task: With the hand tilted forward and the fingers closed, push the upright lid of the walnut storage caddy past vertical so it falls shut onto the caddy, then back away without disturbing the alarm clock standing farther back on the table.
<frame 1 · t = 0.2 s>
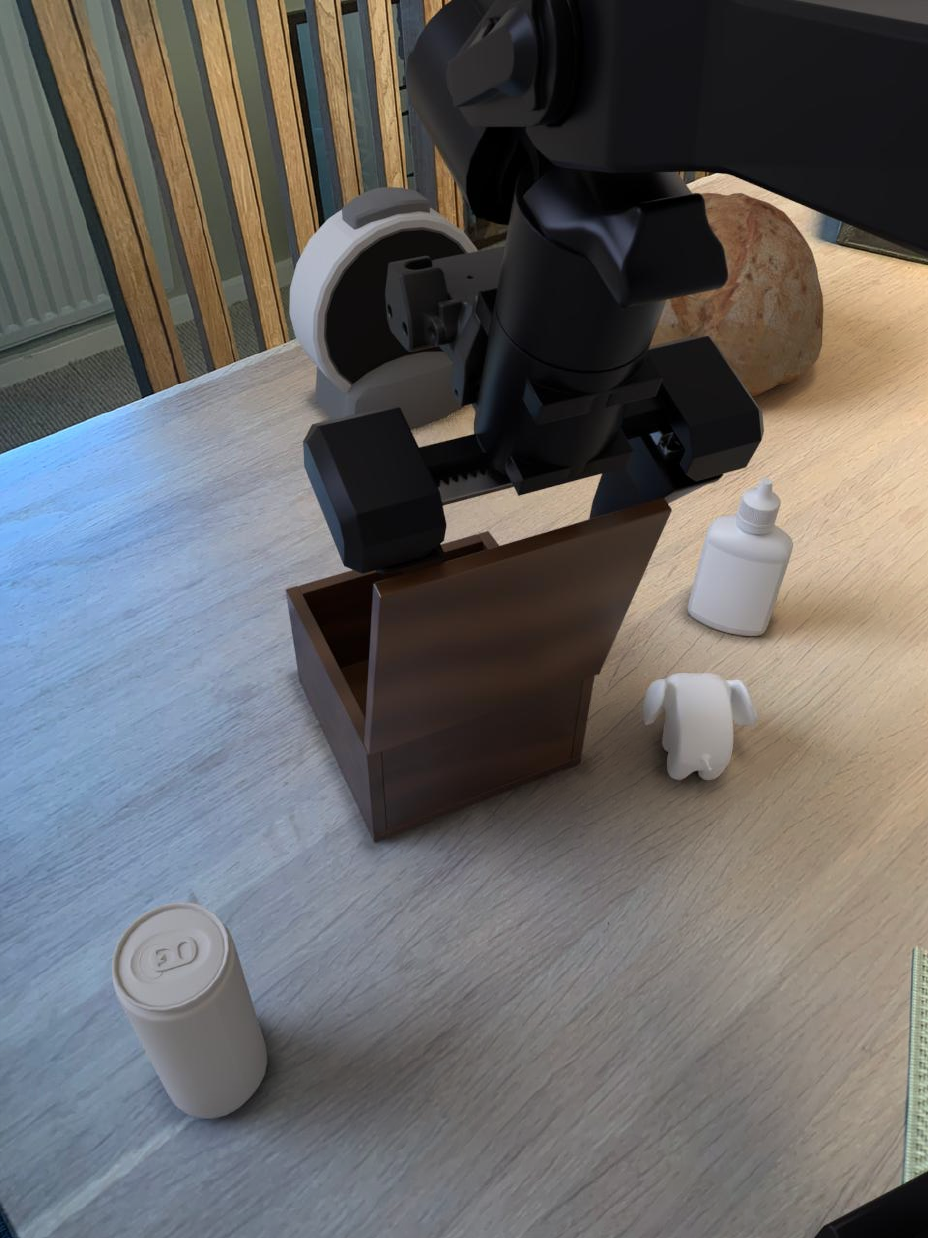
hand: (509, 555, 48), 17 cm above the table, tool tilted 15°, fingers open, 9 cm apart
eye dropper bottle: (726, 619, 71), on the table
caddy: (434, 720, 63), on the table
lid: (505, 636, 47), point 16 cm above the table, hinge at 102.6°, touching gripper
alarm clock: (393, 400, 90), on the table
elephant figurine: (687, 755, 62), on the table
beverage can: (218, 1072, 48), on the table
bread: (673, 355, 96), on the table
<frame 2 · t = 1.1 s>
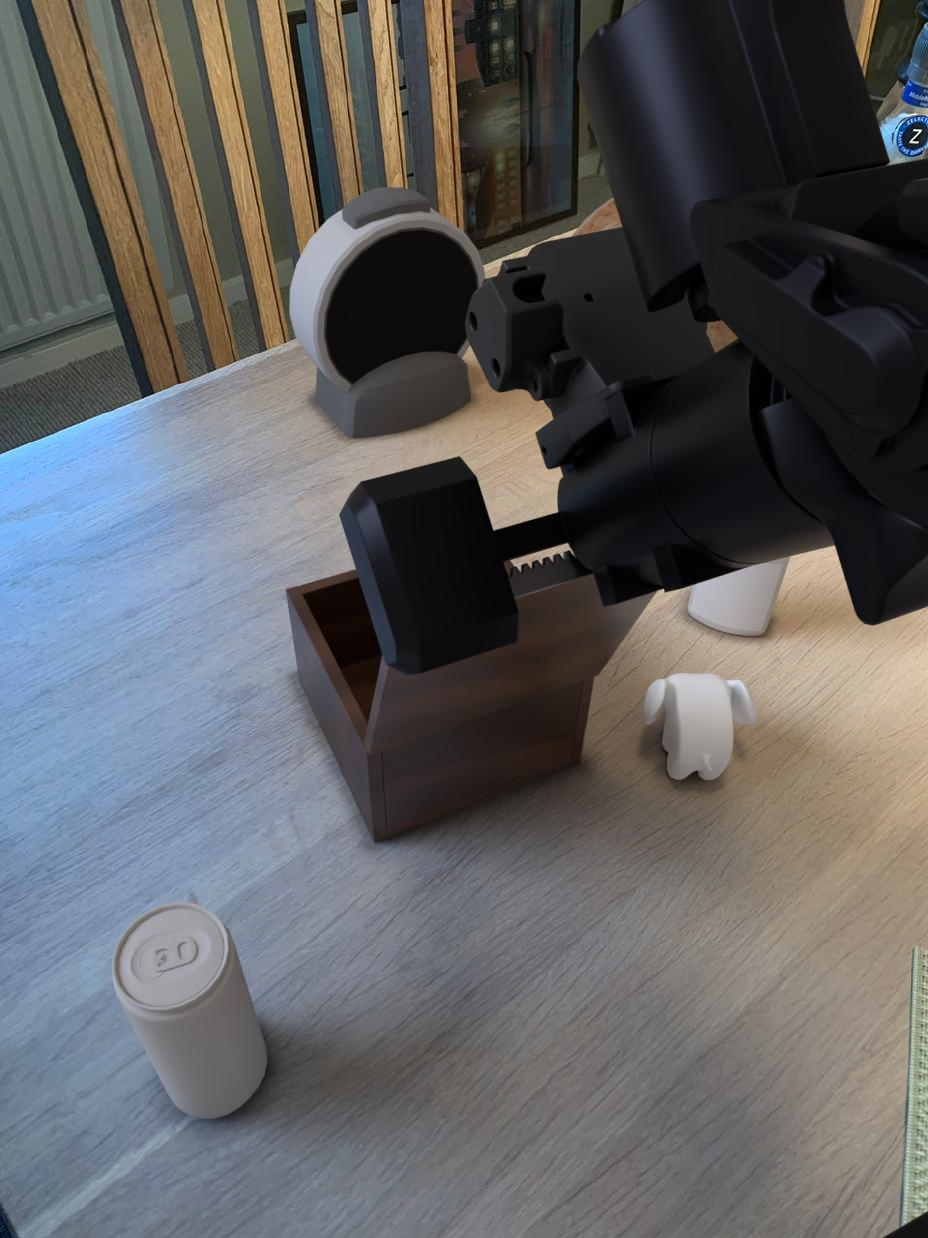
hand: (537, 548, 42), 22 cm above the table, tool tilted 40°
lid: (513, 651, 46), point 15 cm above the table, hinge at 109.7°, touching gripper
everything else where it was.
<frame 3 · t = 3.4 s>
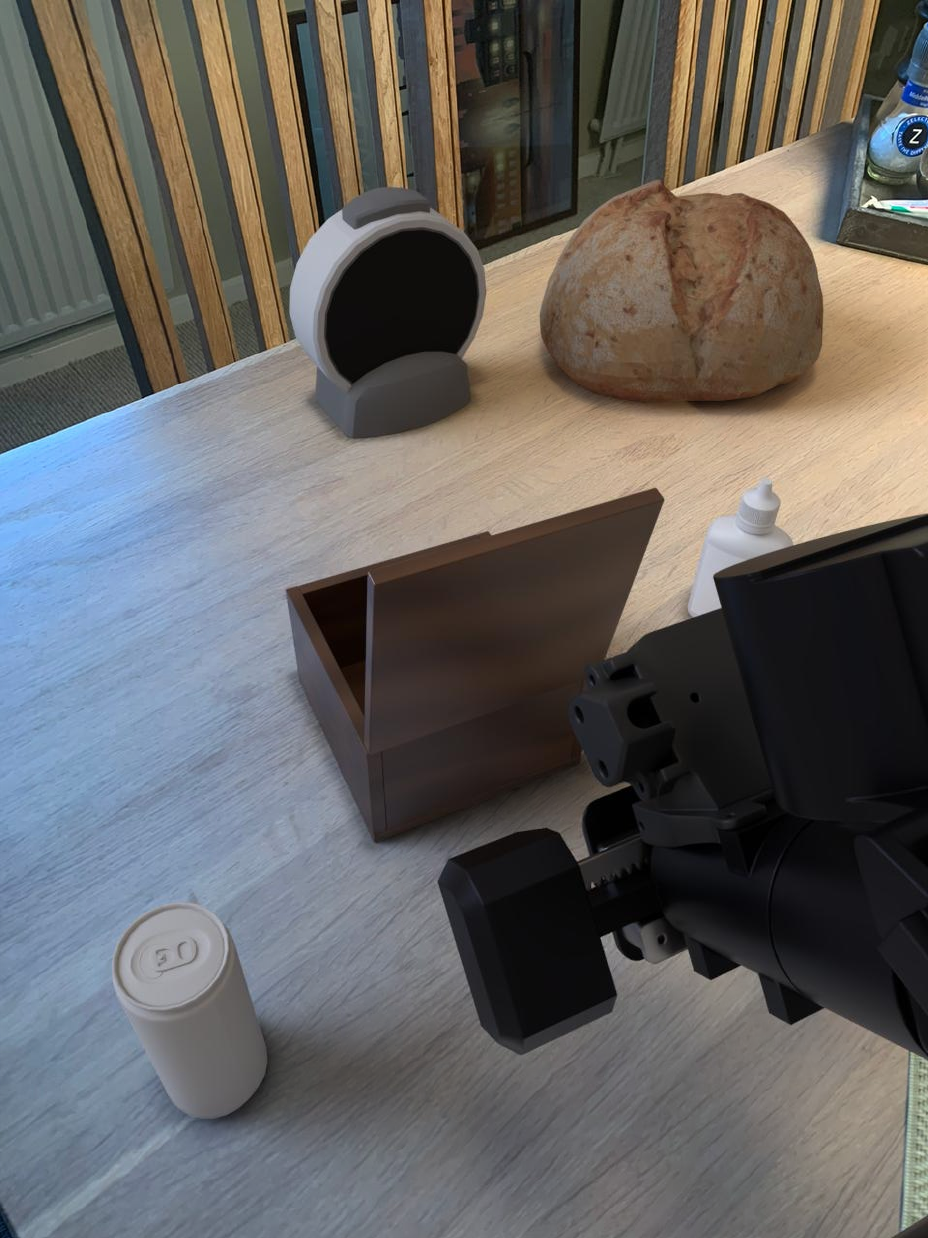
hand: (604, 819, 42), 13 cm above the table, tool tilted 45°, fingers closed
lid: (502, 631, 47), point 16 cm above the table, hinge at 100.1°
everything else where it was.
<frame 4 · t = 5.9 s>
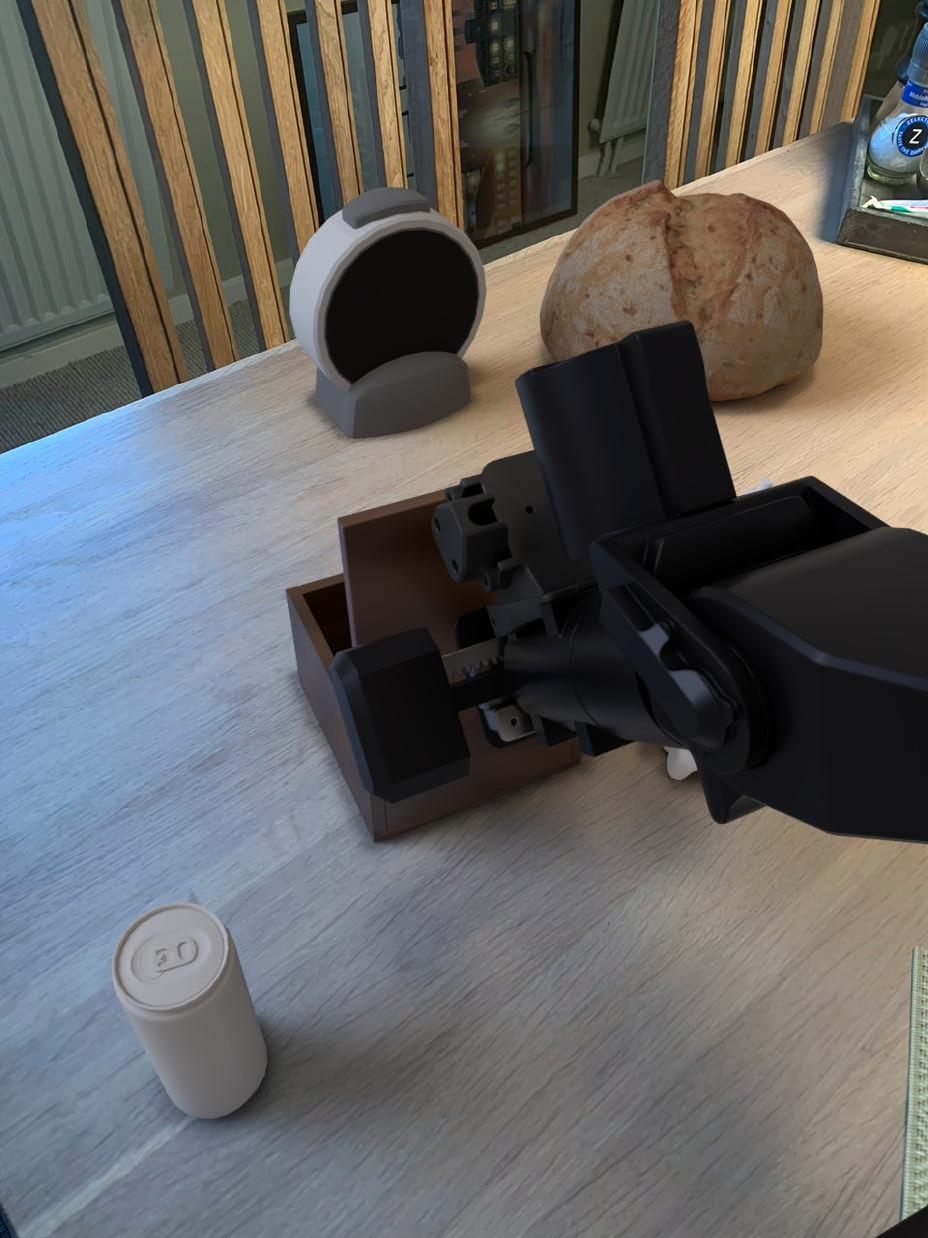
hand: (492, 659, 50), 13 cm above the table, tool tilted 45°, fingers closed, pressing on lid
lid: (486, 605, 48), point 16 cm above the table, hinge at 85.6°, touching gripper
everything else where it was.
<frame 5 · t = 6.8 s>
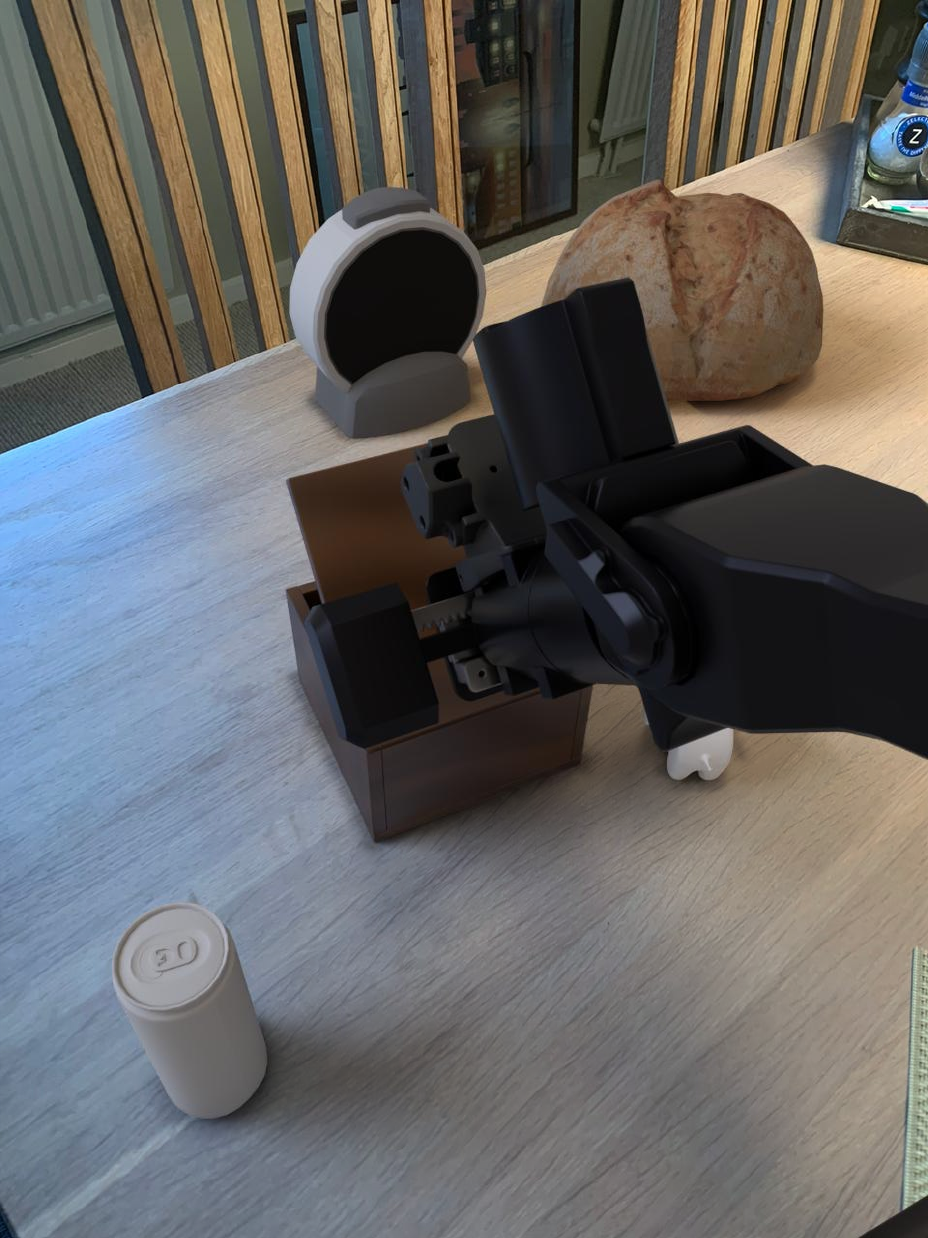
hand: (466, 623, 52), 13 cm above the table, tool tilted 45°, fingers closed
lid: (449, 579, 52), point 14 cm above the table, hinge at 48.1°
everything else where it was.
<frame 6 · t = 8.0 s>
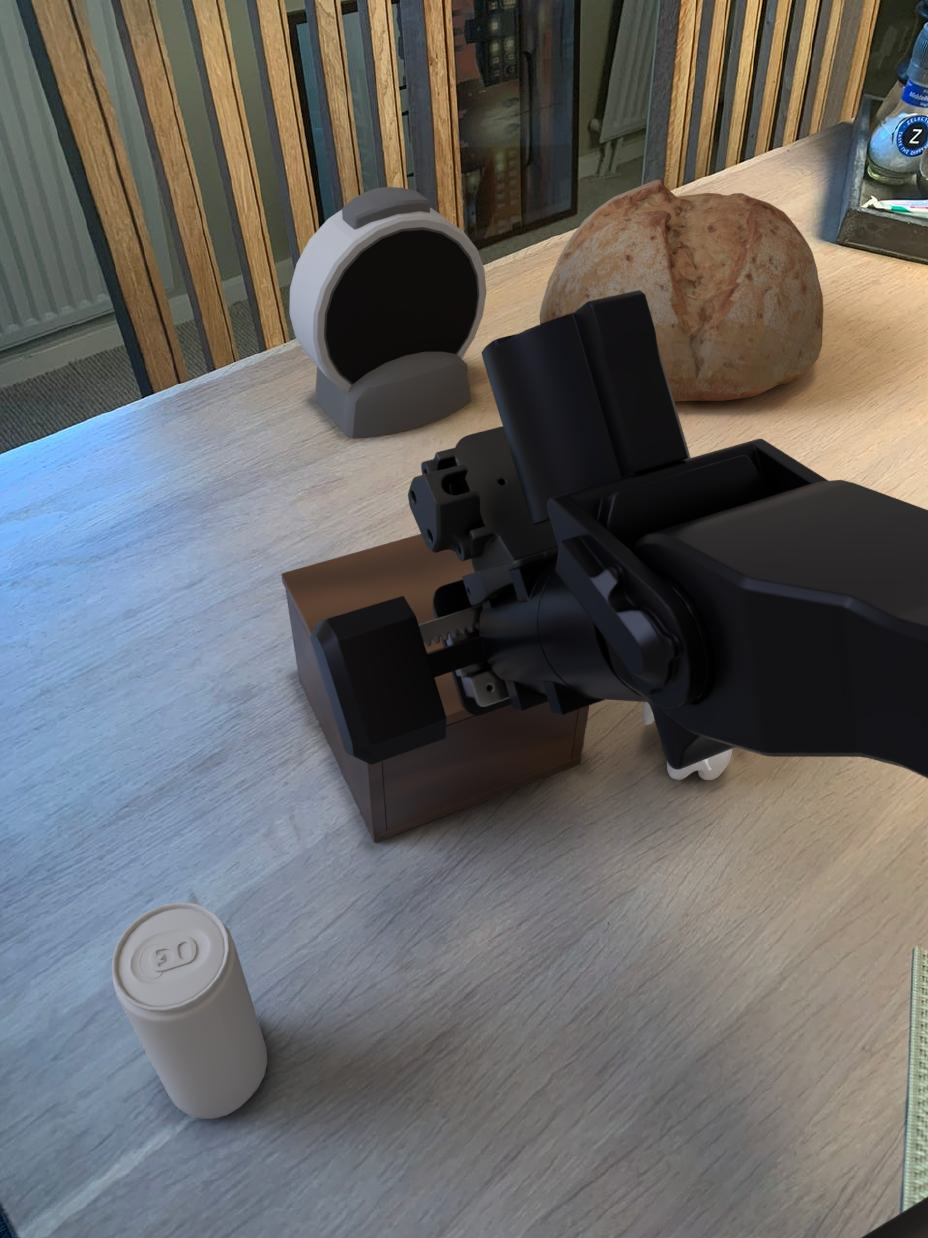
hand: (473, 635, 51), 12 cm above the table, tool tilted 45°, fingers closed
lid: (432, 621, 57), point 9 cm above the table, hinge at -0.2°
everything else where it was.
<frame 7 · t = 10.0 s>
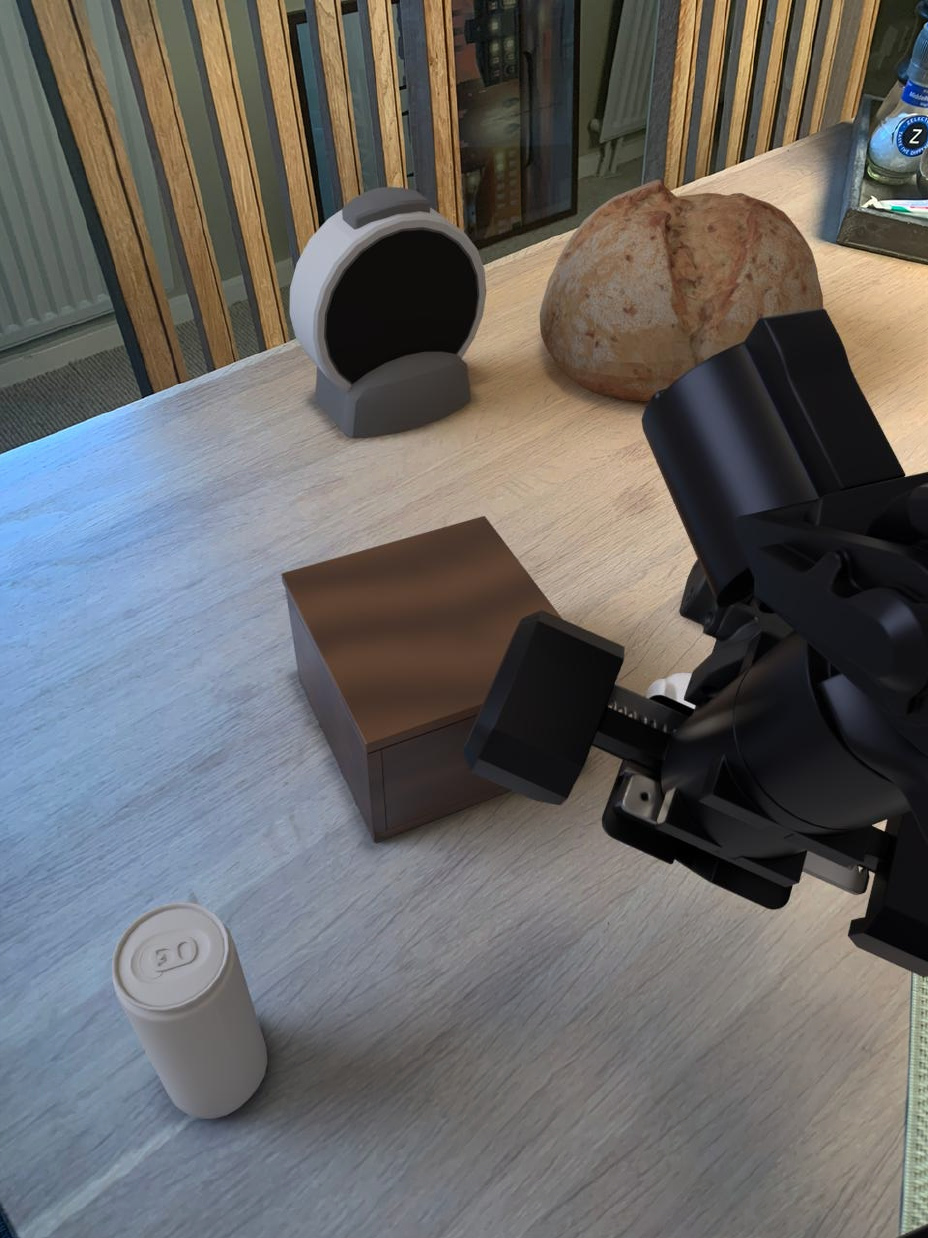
hand: (655, 833, 43), 12 cm above the table, tool tilted 25°, fingers closed
nothing on the table moved.
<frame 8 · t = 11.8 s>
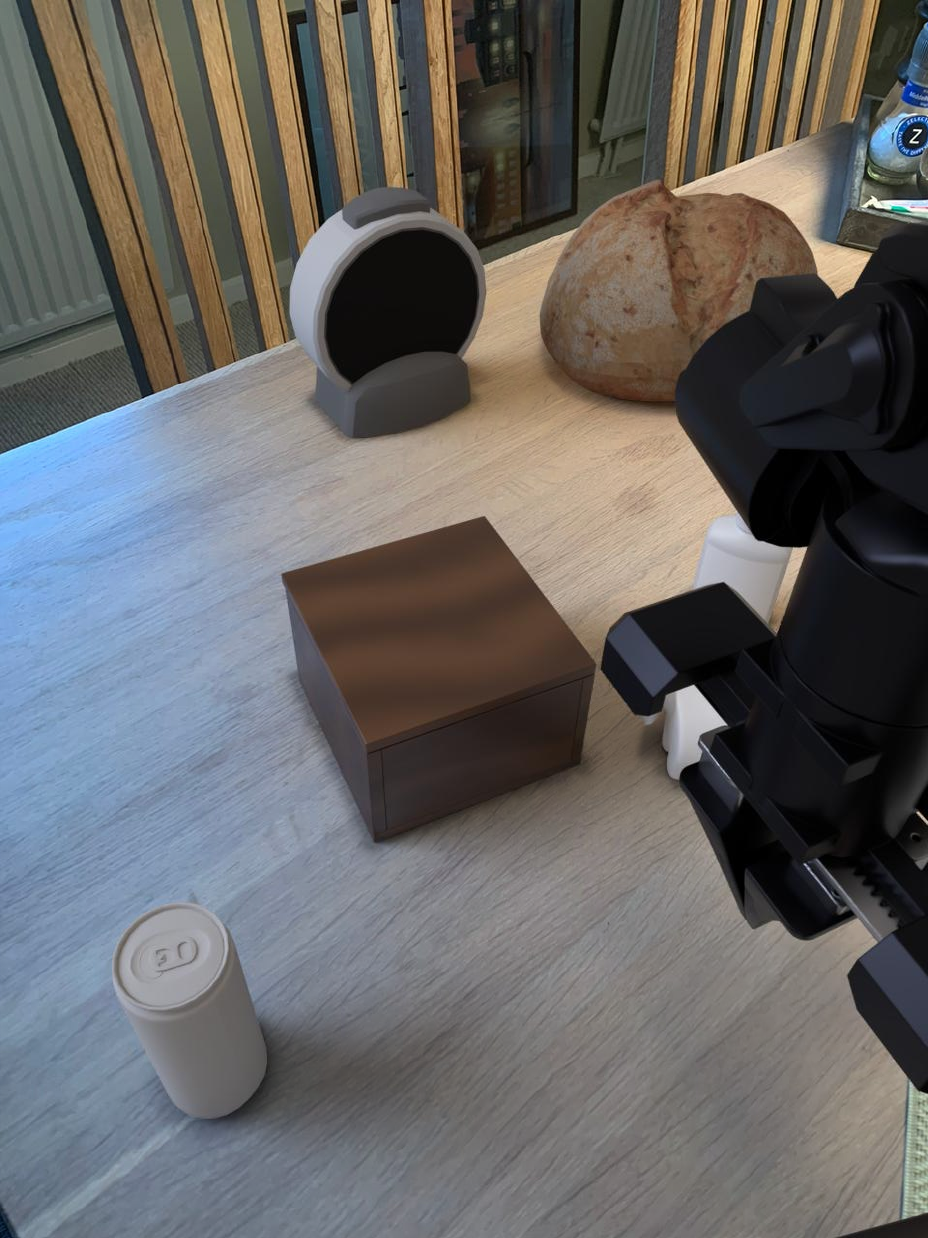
hand: (757, 917, 40), 13 cm above the table, tool pointing down, fingers closed
nothing on the table moved.
at the end: lid at +0° (first picture: +102°); the gripper is holding nothing; alarm clock moved 0.2 cm from its start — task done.
